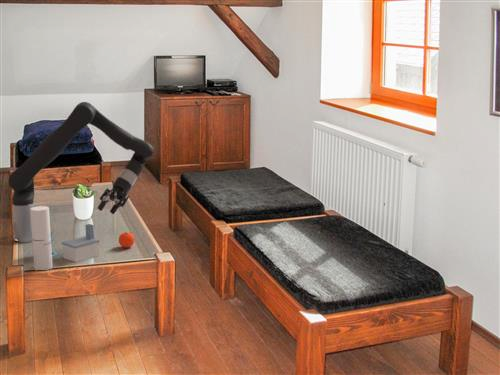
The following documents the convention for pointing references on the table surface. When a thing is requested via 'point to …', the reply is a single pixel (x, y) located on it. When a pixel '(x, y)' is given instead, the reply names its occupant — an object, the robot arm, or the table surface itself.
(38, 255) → the cylindrical container
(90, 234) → the lid
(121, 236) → the clementine
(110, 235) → the table surface
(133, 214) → the table surface
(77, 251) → the tub
